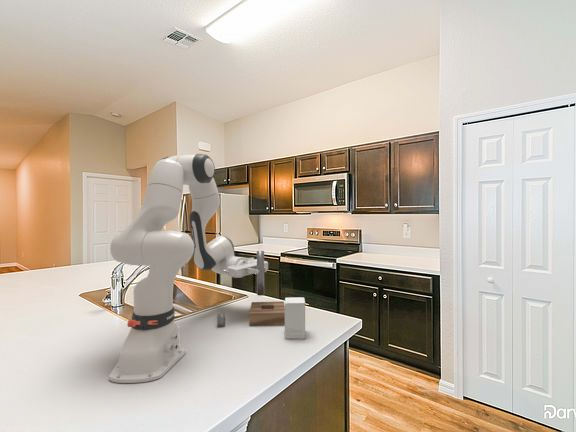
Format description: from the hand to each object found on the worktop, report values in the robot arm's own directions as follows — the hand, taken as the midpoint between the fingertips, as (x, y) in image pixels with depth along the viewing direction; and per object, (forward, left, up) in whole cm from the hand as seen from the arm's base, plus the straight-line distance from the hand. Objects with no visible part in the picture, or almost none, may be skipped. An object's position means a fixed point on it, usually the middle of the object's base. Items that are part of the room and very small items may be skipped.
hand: (262, 270), depth 123 cm
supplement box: (-16, -12, -20) cm, 29 cm away
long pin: (+1, +1, -10) cm, 10 cm away
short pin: (-6, +16, -20) cm, 26 cm away
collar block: (0, -2, -20) cm, 20 cm away
